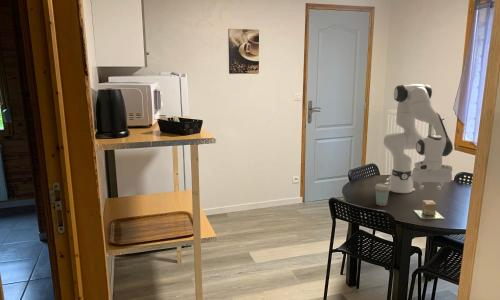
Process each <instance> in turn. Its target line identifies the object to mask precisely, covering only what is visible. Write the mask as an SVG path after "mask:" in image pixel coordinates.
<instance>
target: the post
mask: <svg viewBox="0 0 500 300" xmlns="http://www.w3.org/2000/svg"><path fill="white" fill-rule="evenodd" d="M413 212H414V214H416V215H417V216H418V217H419V219H421V220H445V217H444V216H442V215H441V214H440V213H439V212H438V211H437V210H436V213H435V215H425V214H424V213H423V212H422V209H413Z"/></svg>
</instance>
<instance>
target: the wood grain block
mask: <svg viewBox="0 0 500 300" xmlns="http://www.w3.org/2000/svg"><path fill="white" fill-rule="evenodd" d="M421 206H422V207H421V210H422V212H423V213H424V214H425V215H435V213H436V211H437V210H436V209H437V203H436V202H435V201H434V200H426V199H425V200H424V199H423V200H422V205H421Z"/></svg>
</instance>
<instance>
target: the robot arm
mask: <svg viewBox="0 0 500 300" xmlns="http://www.w3.org/2000/svg"><path fill="white" fill-rule="evenodd" d="M432 94H433V90H432V87H431V86H430V85H429V84H419V83H418V84H417V83H412V84H400V85H397V86H396V87H395V88H394V89H393V99H394V100H395V101H396V102H398V103H397V107H396V108H397V109H396V120H395V122H396V125H397V126H399V127H400V128H401V129H403V132H393V133H388V134H386V135H385V136H384V137H383V145H384V147H385V148H386V149H387V150H388V151H389V152H390V153H391V155H392V161H393V164H392V165H393V166H392V170H391V175H390V176H388V178H386V181H385V182H384V184H388V185H389V187H390V190H389V192H393V193H397V194H410V193H412V192H415V191H416V189H415V188H414V183H417V184H418V185H419V189H420V190H423V191H424V188H425V186H424V185H422V184H423V183H439V185H437V190H439V191H441V190H442V187H443V186H444V185H445V183H450V182H451V181H452V180H453V179H452V178H453V177H452V176H453V175H452V172H453V166H451V165H450V164H443V157H447V156H449V155H451V153H452V152H453V150H454V149H453V142H452V141H451V139H450V137H449V136H448V133H447V130H446V128H445V124H444V122H443V120H442V118H441V115H440V114H439V113H438V112H436V110H435V109H434V108H433V106H432V103H431V98H432V96H433V95H432ZM416 120H418V121H419V122H423V123H426V124H429V125H431V126H432V127H433V130H434V131H435V134H434V133H433V134H428V135H426V138H425V137H424V136H423V134H422V133H421V132H420V131H419V130H418V129H417V126H416ZM404 150H405V151H406V150H415V151H416V153H417V154H418V155H420V156H424V158H423V160H421V161H418V162H415V163H414V167H413V169H412V158H411V156H410V155H408V154H405V152H404Z"/></svg>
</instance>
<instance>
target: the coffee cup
mask: <svg viewBox="0 0 500 300" xmlns="http://www.w3.org/2000/svg"><path fill="white" fill-rule="evenodd" d="M374 190H375V203H376V205H377V206H380V207H384V206H387V205H388V199H389V193H390V191H389V190H390V187H389V185H388V184H385V183H383V182H382V183H376V184H375V185H374Z"/></svg>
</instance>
